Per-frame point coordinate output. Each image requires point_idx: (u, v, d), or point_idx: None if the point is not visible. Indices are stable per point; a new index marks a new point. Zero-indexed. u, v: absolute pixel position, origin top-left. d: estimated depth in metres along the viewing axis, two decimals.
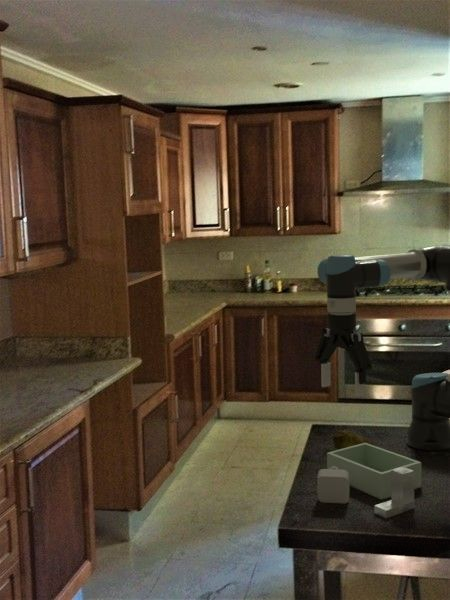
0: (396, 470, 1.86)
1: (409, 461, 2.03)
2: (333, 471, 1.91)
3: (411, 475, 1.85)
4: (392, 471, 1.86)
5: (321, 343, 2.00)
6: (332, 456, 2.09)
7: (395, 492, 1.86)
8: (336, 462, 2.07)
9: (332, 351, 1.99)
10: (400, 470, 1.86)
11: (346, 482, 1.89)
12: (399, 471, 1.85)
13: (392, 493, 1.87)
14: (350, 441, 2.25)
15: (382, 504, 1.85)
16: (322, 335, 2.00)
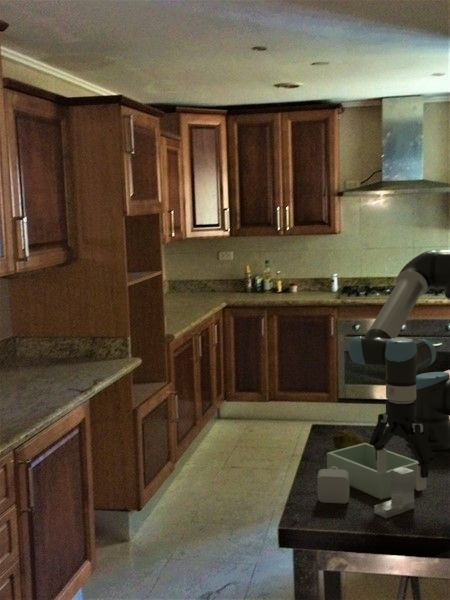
0: (396, 470, 1.86)
1: (409, 461, 2.03)
2: (333, 471, 1.91)
3: (411, 475, 1.85)
4: (392, 471, 1.86)
5: (377, 429, 1.90)
6: (332, 456, 2.09)
7: (394, 492, 1.86)
8: (336, 462, 2.07)
9: (389, 438, 1.89)
10: (400, 470, 1.86)
11: (346, 482, 1.89)
12: (399, 471, 1.85)
13: (392, 493, 1.87)
14: (350, 441, 2.25)
15: (382, 504, 1.85)
16: (378, 421, 1.89)
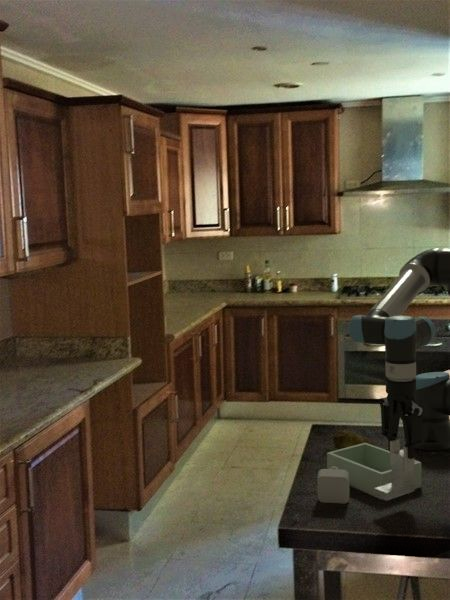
0: (396, 453, 1.86)
1: None
2: (333, 471, 1.91)
3: None
4: (392, 454, 1.86)
5: (383, 415, 1.88)
6: (332, 456, 2.09)
7: (395, 474, 1.86)
8: (336, 462, 2.07)
9: (396, 422, 1.86)
10: (400, 452, 1.86)
11: (346, 482, 1.89)
12: (399, 454, 1.85)
13: (392, 476, 1.87)
14: (350, 441, 2.25)
15: (382, 487, 1.85)
16: (381, 406, 1.88)
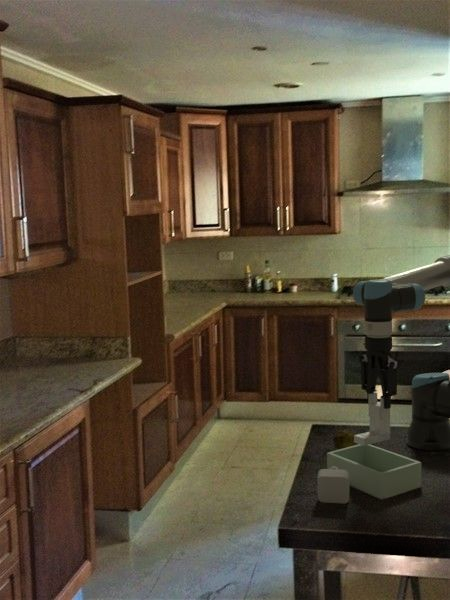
0: (374, 404, 2.05)
1: (409, 461, 2.03)
2: (333, 471, 1.91)
3: None
4: (370, 405, 2.05)
5: (363, 370, 2.07)
6: (332, 456, 2.09)
7: (372, 424, 2.05)
8: (336, 462, 2.07)
9: (374, 376, 2.06)
10: (378, 404, 2.05)
11: (346, 482, 1.89)
12: (376, 405, 2.04)
13: (370, 425, 2.06)
14: (350, 441, 2.25)
15: (361, 434, 2.04)
16: (361, 362, 2.08)
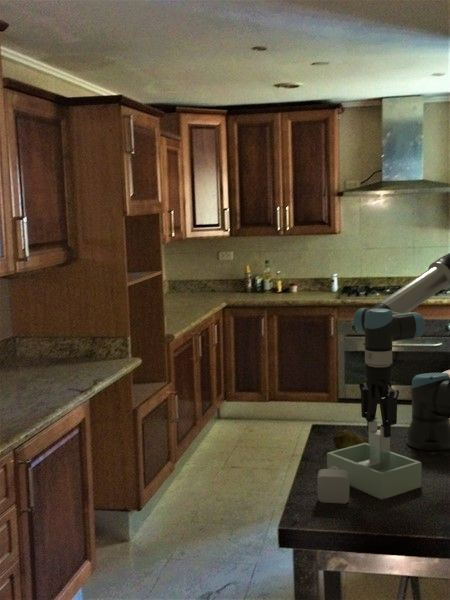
0: (374, 432, 2.06)
1: (409, 461, 2.03)
2: (333, 471, 1.91)
3: None
4: (370, 433, 2.06)
5: (363, 398, 2.08)
6: (332, 456, 2.09)
7: (372, 452, 2.06)
8: (336, 462, 2.07)
9: (374, 404, 2.07)
10: (378, 432, 2.06)
11: (346, 482, 1.89)
12: (376, 433, 2.05)
13: (370, 453, 2.07)
14: (350, 441, 2.25)
15: (361, 462, 2.05)
16: (361, 390, 2.09)
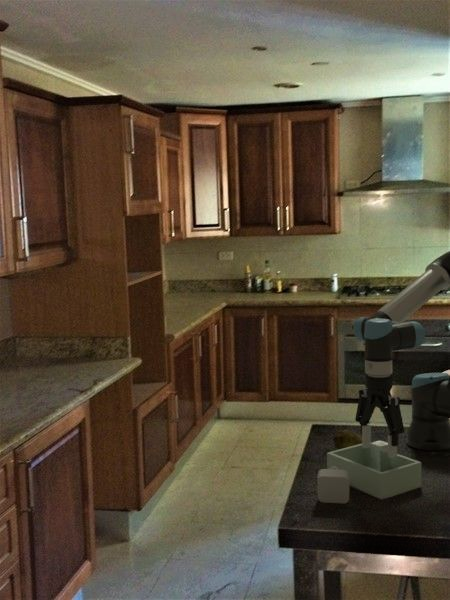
0: (374, 443, 2.07)
1: (409, 461, 2.03)
2: (333, 471, 1.91)
3: (387, 447, 2.05)
4: (371, 444, 2.07)
5: (360, 404, 2.10)
6: (332, 456, 2.09)
7: (373, 463, 2.07)
8: (336, 462, 2.07)
9: (371, 411, 2.08)
10: (378, 443, 2.07)
11: (346, 482, 1.89)
12: (377, 444, 2.06)
13: (371, 464, 2.08)
14: (350, 441, 2.25)
15: None
16: (360, 396, 2.09)
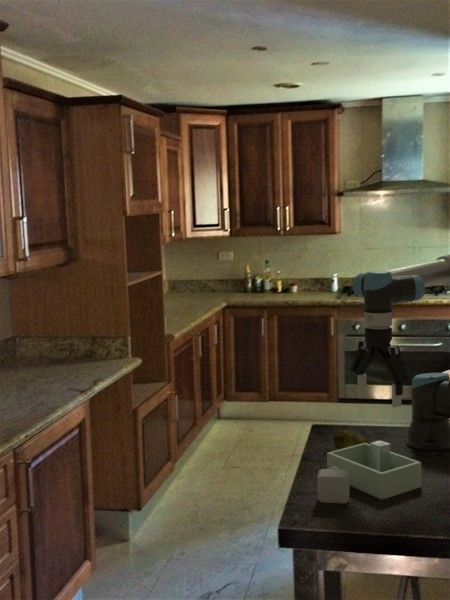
0: (374, 443, 2.07)
1: (409, 461, 2.03)
2: (333, 471, 1.91)
3: (387, 447, 2.05)
4: (371, 444, 2.07)
5: (357, 355, 2.09)
6: (332, 456, 2.09)
7: (373, 463, 2.07)
8: (336, 462, 2.07)
9: (368, 363, 2.07)
10: (378, 443, 2.07)
11: (346, 482, 1.89)
12: (377, 444, 2.06)
13: (371, 464, 2.08)
14: (350, 441, 2.25)
15: None
16: (359, 348, 2.08)
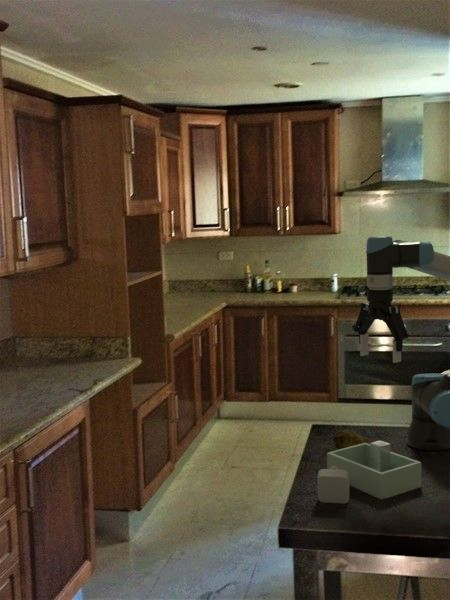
0: (374, 443, 2.07)
1: (409, 461, 2.03)
2: (333, 471, 1.91)
3: (387, 447, 2.05)
4: (371, 444, 2.07)
5: (360, 316, 2.23)
6: (332, 456, 2.09)
7: (373, 463, 2.07)
8: (336, 462, 2.07)
9: (370, 323, 2.22)
10: (378, 443, 2.07)
11: (346, 482, 1.89)
12: (377, 444, 2.06)
13: (371, 464, 2.08)
14: (350, 441, 2.25)
15: None
16: (361, 309, 2.22)
